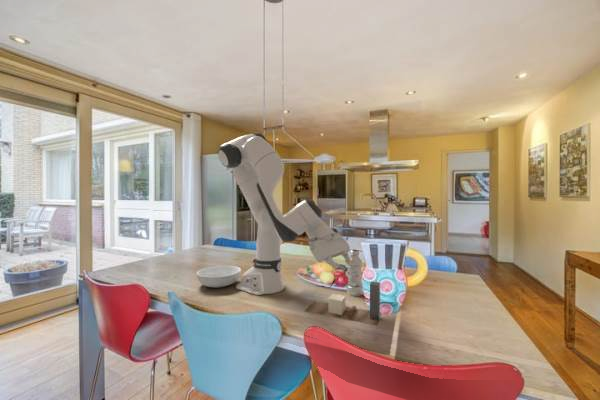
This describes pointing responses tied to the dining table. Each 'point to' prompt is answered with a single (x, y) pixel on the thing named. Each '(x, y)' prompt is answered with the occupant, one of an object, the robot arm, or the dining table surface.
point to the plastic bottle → (354, 274)
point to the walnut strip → (354, 308)
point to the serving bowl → (218, 276)
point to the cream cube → (336, 304)
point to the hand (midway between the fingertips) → (343, 265)
